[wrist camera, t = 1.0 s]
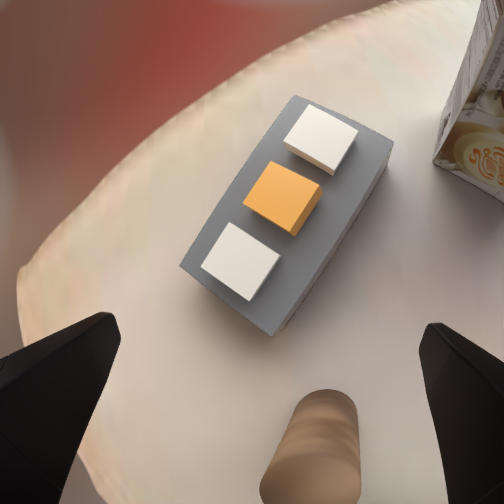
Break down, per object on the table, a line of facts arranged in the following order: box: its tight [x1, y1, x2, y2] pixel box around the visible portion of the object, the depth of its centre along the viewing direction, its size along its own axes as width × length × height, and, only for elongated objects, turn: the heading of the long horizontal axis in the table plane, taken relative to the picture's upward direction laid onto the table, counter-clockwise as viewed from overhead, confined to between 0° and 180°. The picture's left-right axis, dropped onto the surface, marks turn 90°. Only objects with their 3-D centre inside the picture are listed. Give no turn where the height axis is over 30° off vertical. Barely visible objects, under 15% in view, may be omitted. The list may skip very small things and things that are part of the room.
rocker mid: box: [243, 161, 323, 237], centre depth 18 cm, size 4×3×1 cm
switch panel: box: [179, 95, 394, 337], centre depth 21 cm, size 8×15×4 cm, turn 145°
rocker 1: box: [201, 222, 281, 301], centre depth 18 cm, size 4×3×1 cm
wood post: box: [260, 389, 361, 504], centre depth 15 cm, size 5×5×10 cm
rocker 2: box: [283, 104, 358, 176], centre depth 17 cm, size 4×3×1 cm
